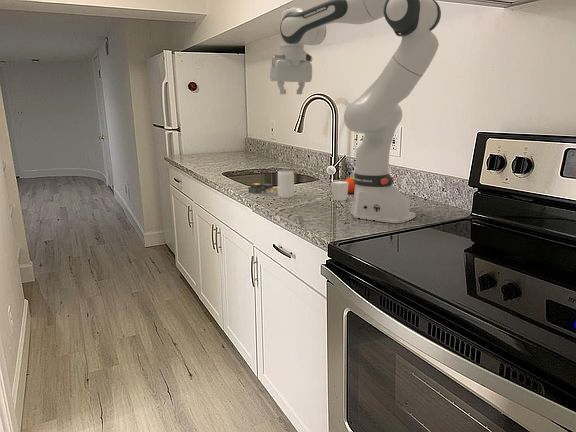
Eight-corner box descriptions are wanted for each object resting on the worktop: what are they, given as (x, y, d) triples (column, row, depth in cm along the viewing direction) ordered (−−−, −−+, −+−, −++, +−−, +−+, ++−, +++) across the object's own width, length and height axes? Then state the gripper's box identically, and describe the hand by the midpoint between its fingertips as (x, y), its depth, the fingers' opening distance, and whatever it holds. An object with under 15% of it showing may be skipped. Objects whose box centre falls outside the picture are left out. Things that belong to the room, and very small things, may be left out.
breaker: (262, 188, 193) (262, 183, 192) (256, 190, 190) (256, 184, 190) (256, 187, 195) (256, 182, 195) (250, 189, 193) (250, 183, 192)
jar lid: (290, 192, 192) (290, 189, 192) (276, 195, 186) (276, 192, 185) (275, 189, 198) (275, 186, 197) (261, 192, 191) (261, 189, 191)
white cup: (349, 198, 185) (349, 181, 183) (347, 201, 179) (347, 184, 177) (332, 197, 187) (333, 180, 185) (329, 200, 181) (329, 183, 179)
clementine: (363, 194, 191) (364, 177, 190) (348, 195, 189) (349, 178, 188) (355, 191, 199) (355, 175, 197) (340, 192, 197) (341, 176, 195)
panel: (290, 194, 192) (290, 186, 191) (271, 199, 184) (270, 191, 183) (267, 190, 201) (267, 183, 201) (247, 195, 193) (247, 187, 192)
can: (292, 200, 181) (292, 170, 178) (276, 200, 182) (276, 170, 179) (295, 197, 187) (295, 168, 184) (280, 196, 189) (279, 168, 186)
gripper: (278, 53, 160) (278, 94, 163) (315, 57, 174) (314, 94, 178) (265, 54, 164) (266, 94, 168) (302, 57, 178) (302, 94, 182)
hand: (291, 94), depth 173 cm, fingers open, 8 cm apart
